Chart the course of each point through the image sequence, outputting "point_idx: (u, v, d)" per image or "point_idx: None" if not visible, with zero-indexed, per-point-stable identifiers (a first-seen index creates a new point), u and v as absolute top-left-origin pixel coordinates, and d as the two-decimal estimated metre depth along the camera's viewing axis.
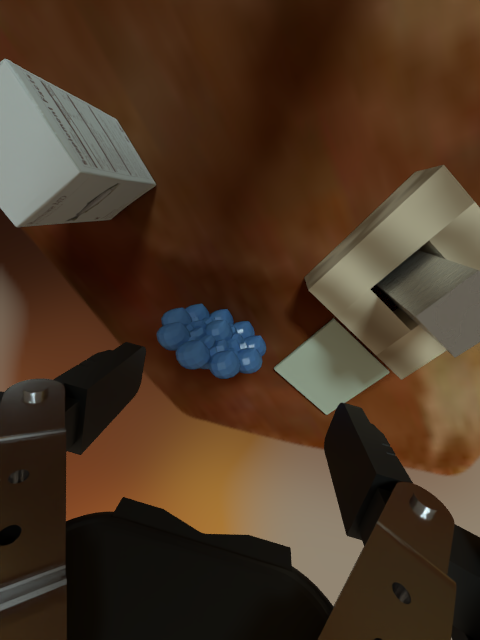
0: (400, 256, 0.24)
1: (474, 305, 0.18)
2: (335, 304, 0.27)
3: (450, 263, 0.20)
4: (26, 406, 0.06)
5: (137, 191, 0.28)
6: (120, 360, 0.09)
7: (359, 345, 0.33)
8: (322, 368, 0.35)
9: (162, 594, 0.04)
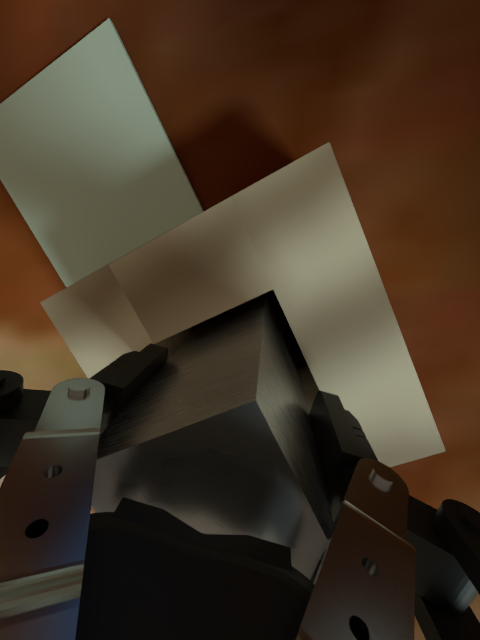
0: (318, 359, 0.12)
1: None
2: (264, 202, 0.11)
3: (318, 463, 0.09)
4: (73, 404, 0.07)
5: None
6: (148, 360, 0.10)
7: (133, 246, 0.16)
8: (92, 153, 0.15)
9: (162, 594, 0.04)
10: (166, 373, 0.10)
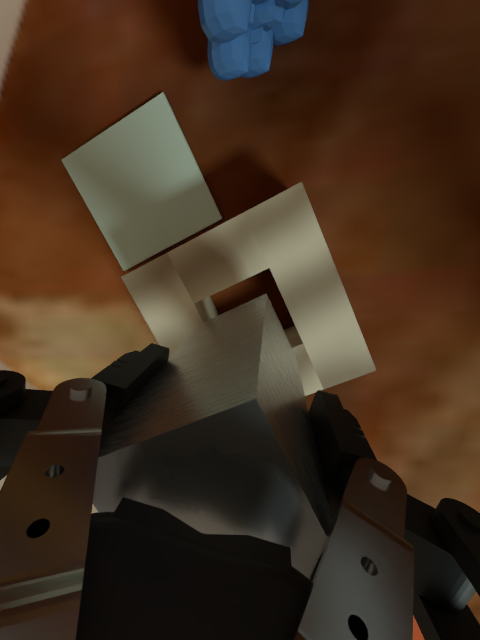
0: (297, 311, 0.19)
1: None
2: (264, 215, 0.18)
3: (318, 462, 0.09)
4: (75, 403, 0.07)
5: None
6: (149, 360, 0.10)
7: (173, 241, 0.23)
8: (147, 178, 0.22)
9: (162, 594, 0.04)
10: (166, 372, 0.10)
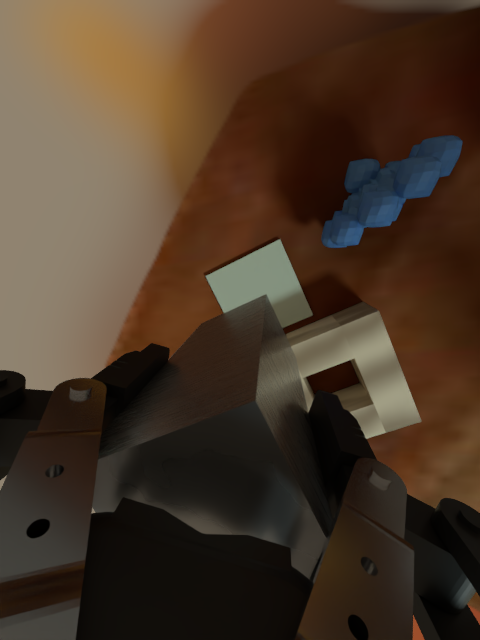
0: (371, 384, 0.30)
1: None
2: (353, 328, 0.29)
3: (318, 463, 0.09)
4: (75, 403, 0.07)
5: None
6: (149, 360, 0.10)
7: None
8: (263, 289, 0.34)
9: (162, 594, 0.04)
10: (166, 373, 0.10)
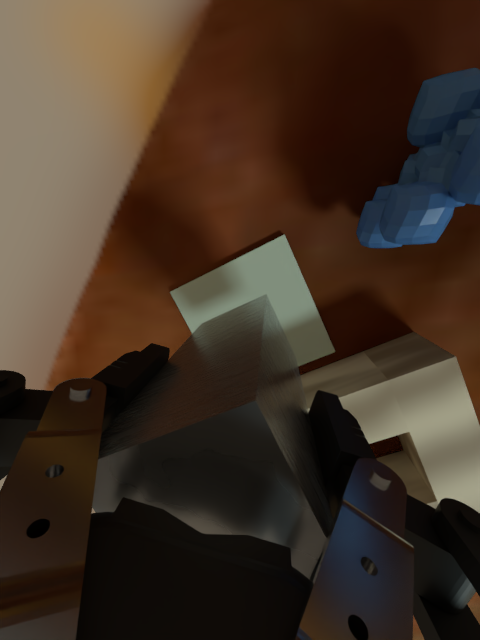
0: (434, 472, 0.18)
1: None
2: (410, 384, 0.17)
3: (318, 463, 0.09)
4: (75, 403, 0.07)
5: None
6: (149, 360, 0.10)
7: None
8: None
9: (162, 594, 0.04)
10: (166, 373, 0.10)
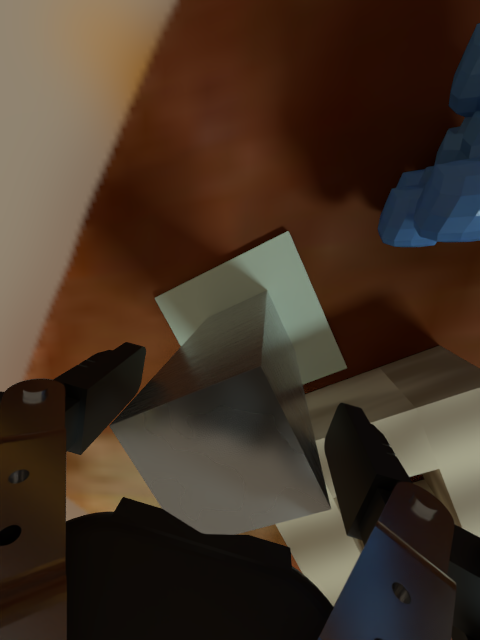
0: (468, 516, 0.15)
1: (244, 485, 0.07)
2: (442, 413, 0.14)
3: (312, 432, 0.10)
4: (26, 406, 0.06)
5: None
6: (120, 360, 0.09)
7: None
8: None
9: (162, 594, 0.04)
10: (181, 356, 0.11)
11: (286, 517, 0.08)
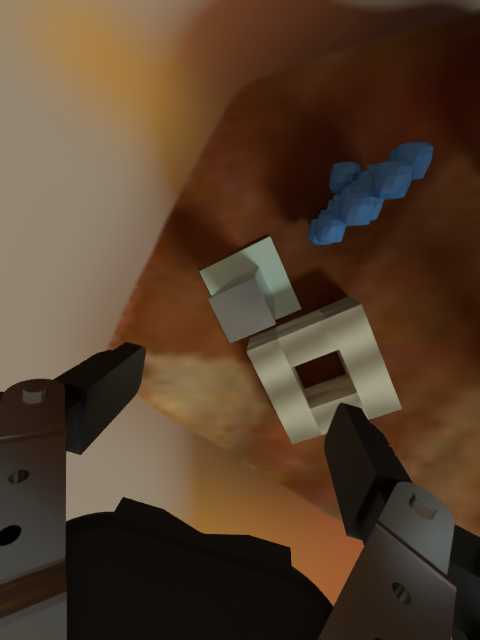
0: (354, 374, 0.32)
1: (249, 317, 0.24)
2: (338, 321, 0.31)
3: (274, 314, 0.27)
4: (26, 406, 0.06)
5: None
6: (120, 360, 0.09)
7: None
8: None
9: (162, 594, 0.04)
10: (223, 288, 0.28)
11: (262, 328, 0.24)
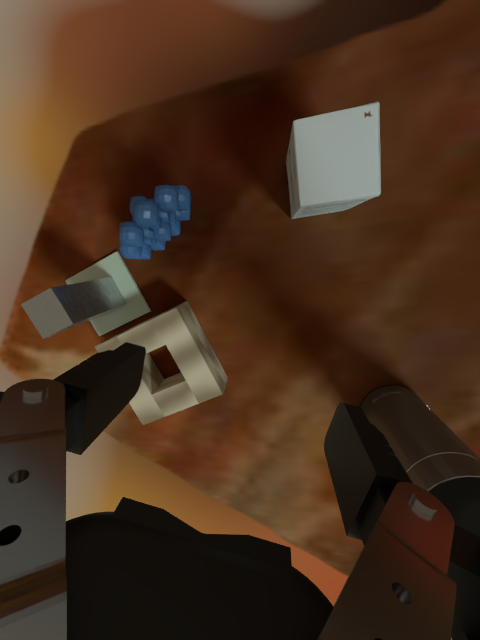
0: (181, 365, 0.39)
1: (53, 319, 0.31)
2: (160, 321, 0.38)
3: (89, 316, 0.34)
4: (26, 406, 0.06)
5: None
6: (120, 360, 0.09)
7: (125, 322, 0.43)
8: None
9: (162, 594, 0.04)
10: None
11: (64, 327, 0.31)
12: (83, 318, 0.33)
